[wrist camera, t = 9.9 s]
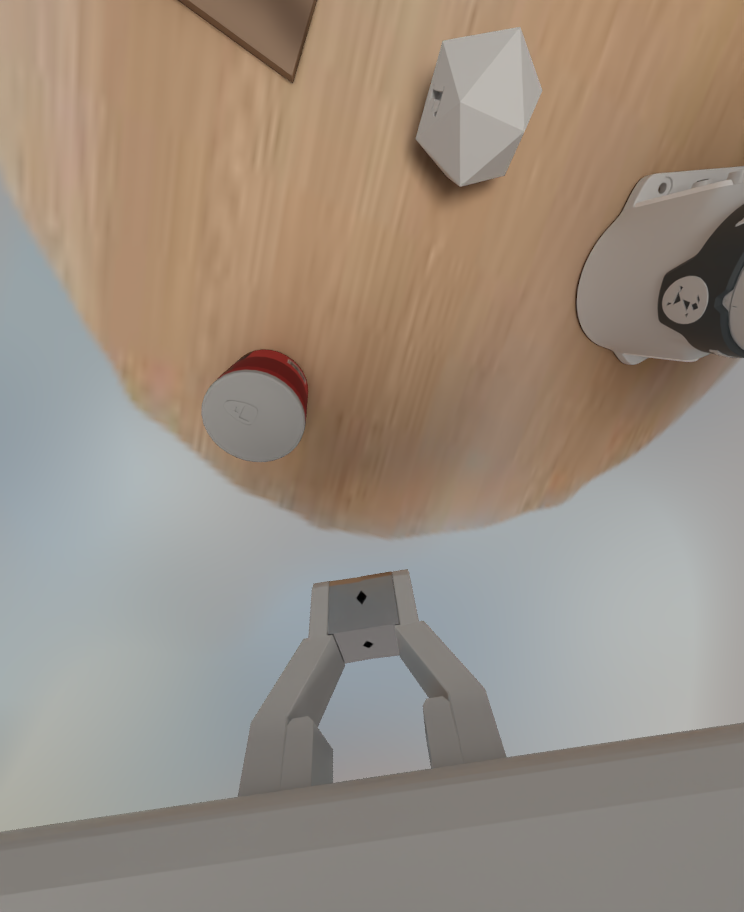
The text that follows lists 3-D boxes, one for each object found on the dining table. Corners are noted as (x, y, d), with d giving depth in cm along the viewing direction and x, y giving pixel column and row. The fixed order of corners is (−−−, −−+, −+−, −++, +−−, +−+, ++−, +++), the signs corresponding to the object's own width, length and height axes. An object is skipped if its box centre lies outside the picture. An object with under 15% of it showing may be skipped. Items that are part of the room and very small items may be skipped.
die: (468, 37, 27) (428, -20, 20) (568, 73, 25) (562, 25, 18) (428, 166, 32) (386, 157, 25) (508, 201, 31) (486, 201, 24)
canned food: (236, 339, 33) (203, 359, 24) (315, 359, 35) (314, 385, 26) (228, 409, 36) (196, 453, 27) (301, 424, 38) (296, 470, 29)
